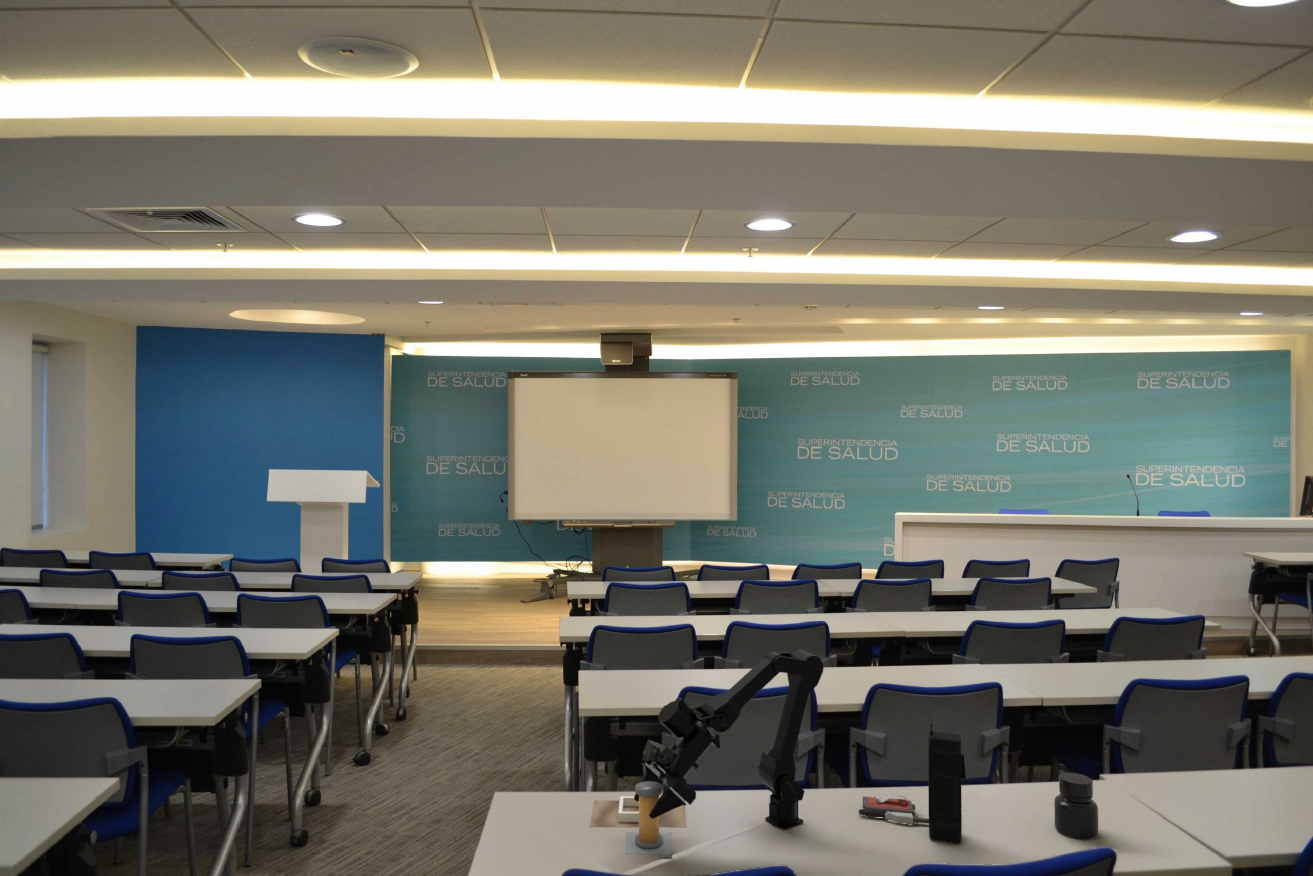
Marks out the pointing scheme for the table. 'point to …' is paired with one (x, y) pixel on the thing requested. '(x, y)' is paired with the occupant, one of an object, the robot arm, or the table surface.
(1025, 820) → the table surface
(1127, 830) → the table surface
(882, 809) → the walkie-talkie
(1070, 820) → the ink bottle
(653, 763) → the robot arm
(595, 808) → the walnut board
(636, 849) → the grey mat
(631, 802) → the white square frame
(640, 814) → the orange cylinder grey ends
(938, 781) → the portable radio
